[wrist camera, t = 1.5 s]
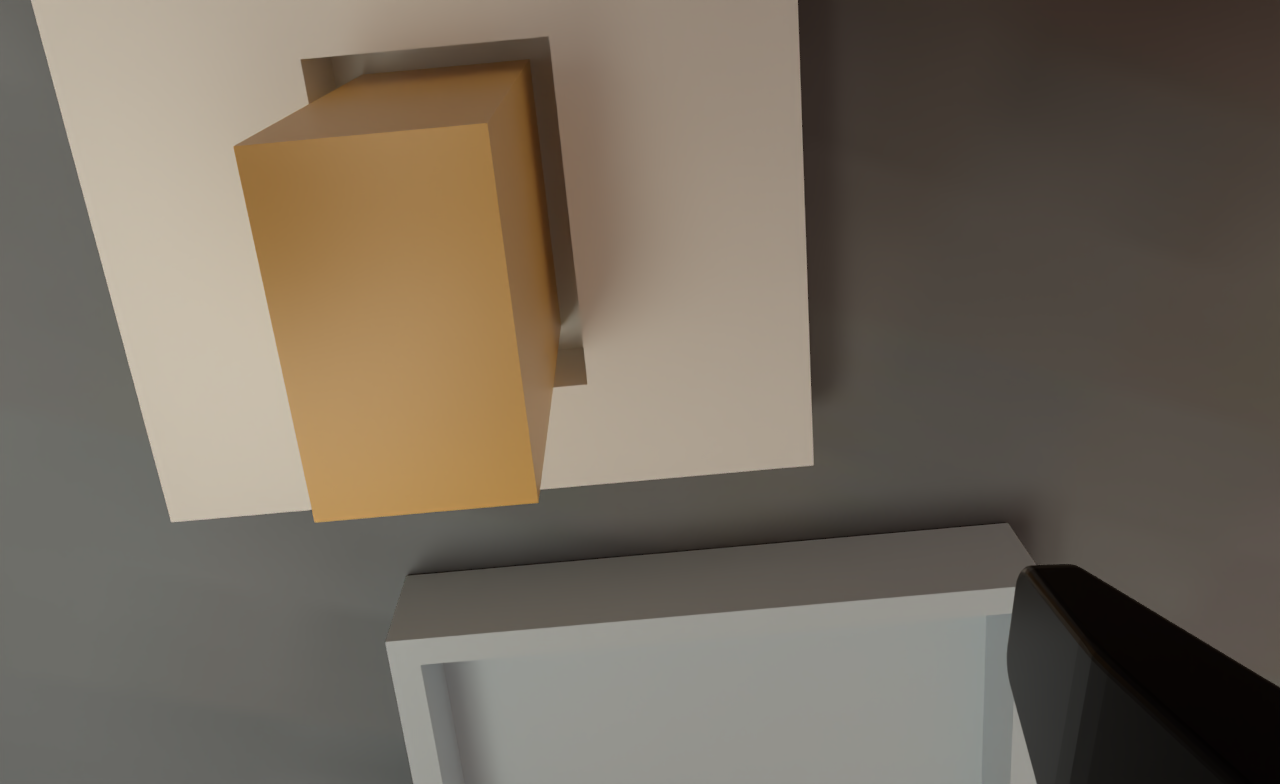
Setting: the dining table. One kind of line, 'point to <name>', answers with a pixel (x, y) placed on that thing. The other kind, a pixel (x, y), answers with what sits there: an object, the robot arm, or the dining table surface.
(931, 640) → the parts tray
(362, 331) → the orange rectangular block
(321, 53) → the fuse block
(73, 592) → the dining table surface
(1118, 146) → the dining table surface
